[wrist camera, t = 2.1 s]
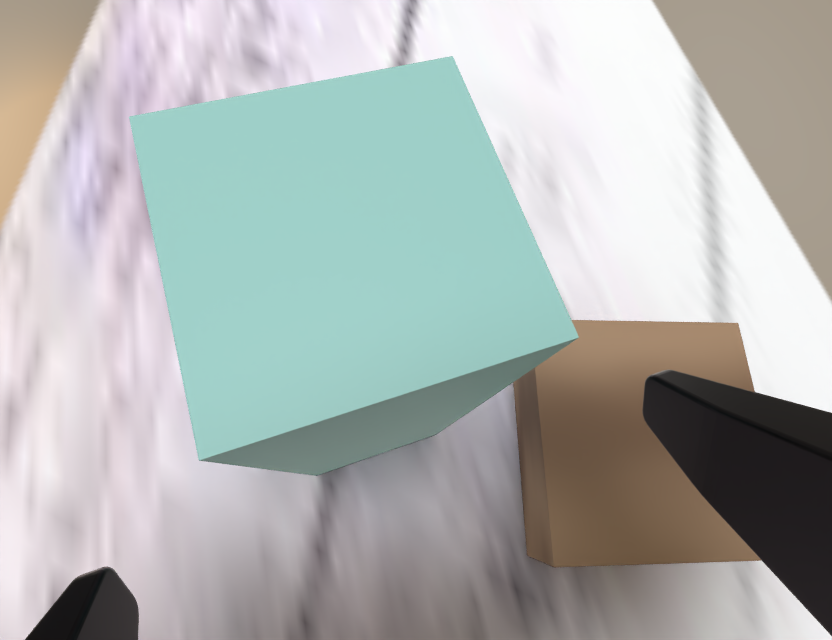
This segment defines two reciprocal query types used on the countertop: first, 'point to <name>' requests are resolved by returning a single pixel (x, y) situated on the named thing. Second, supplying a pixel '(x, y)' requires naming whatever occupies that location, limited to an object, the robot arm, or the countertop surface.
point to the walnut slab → (619, 448)
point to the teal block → (341, 266)
